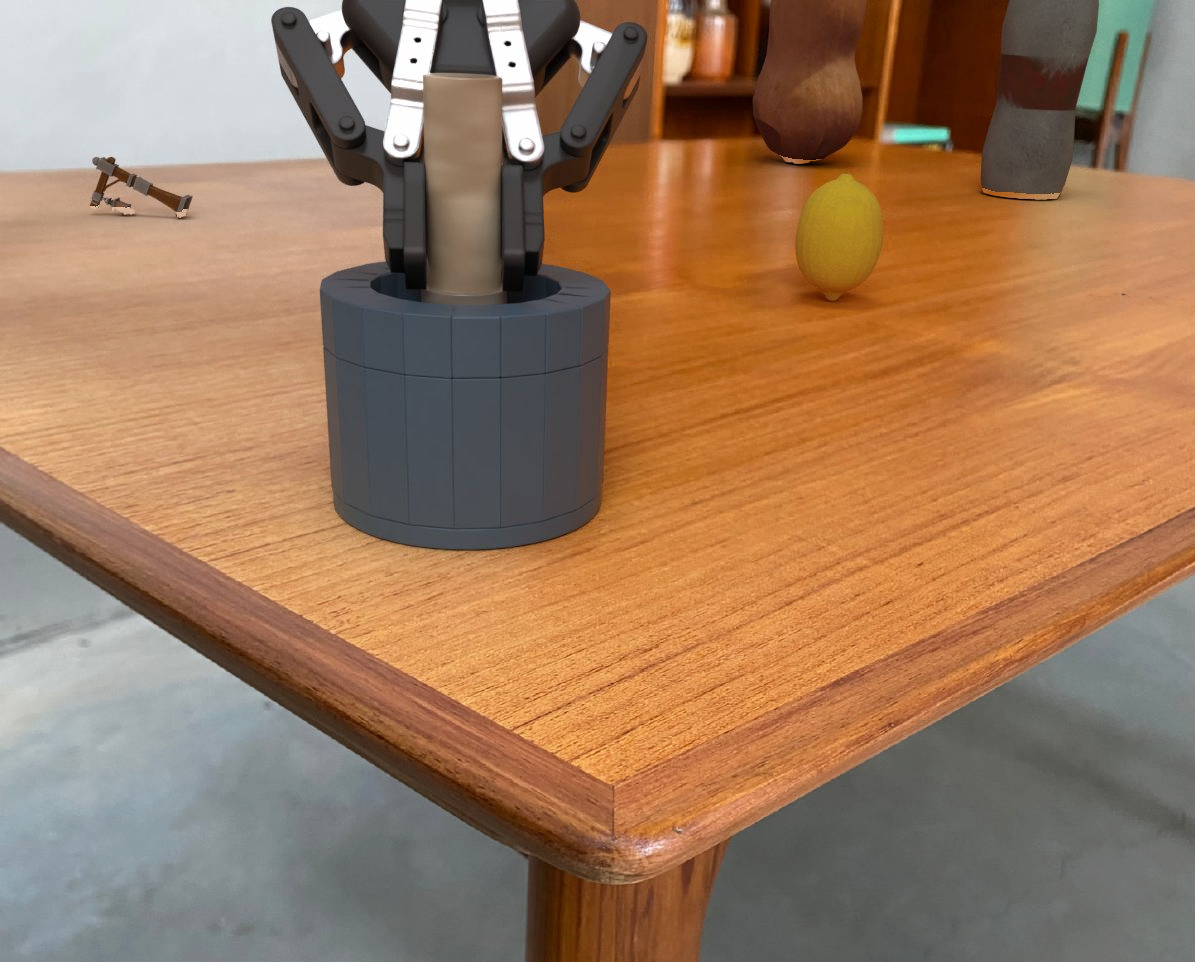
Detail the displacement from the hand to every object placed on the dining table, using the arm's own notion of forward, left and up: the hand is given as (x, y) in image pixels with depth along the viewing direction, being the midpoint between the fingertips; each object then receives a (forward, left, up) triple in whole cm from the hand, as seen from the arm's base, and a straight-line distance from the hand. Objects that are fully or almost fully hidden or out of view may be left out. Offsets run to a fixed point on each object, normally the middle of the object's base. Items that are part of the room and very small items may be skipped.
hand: (465, 275), depth 41 cm
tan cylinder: (-1, +2, -6) cm, 6 cm away
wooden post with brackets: (-42, +58, -9) cm, 72 cm away
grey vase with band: (+35, +106, -9) cm, 112 cm away
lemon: (+14, +43, -9) cm, 46 cm away
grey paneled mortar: (0, +2, -9) cm, 9 cm away
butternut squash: (+10, +127, -9) cm, 128 cm away
